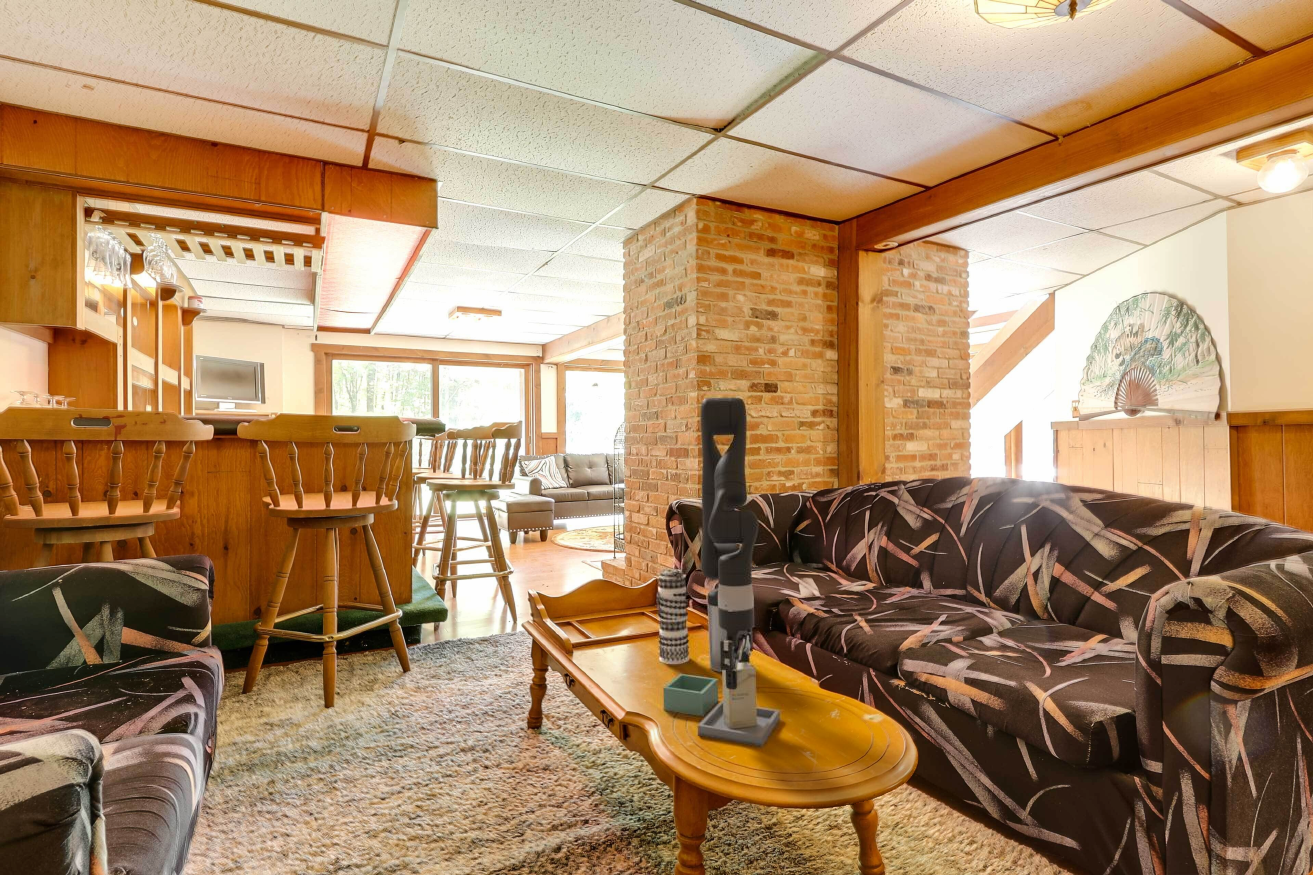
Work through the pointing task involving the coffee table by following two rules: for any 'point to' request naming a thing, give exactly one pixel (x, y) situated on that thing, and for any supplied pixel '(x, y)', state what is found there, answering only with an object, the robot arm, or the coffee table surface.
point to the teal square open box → (691, 694)
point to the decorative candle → (672, 617)
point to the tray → (746, 735)
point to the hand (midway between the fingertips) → (738, 681)
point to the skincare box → (740, 698)
